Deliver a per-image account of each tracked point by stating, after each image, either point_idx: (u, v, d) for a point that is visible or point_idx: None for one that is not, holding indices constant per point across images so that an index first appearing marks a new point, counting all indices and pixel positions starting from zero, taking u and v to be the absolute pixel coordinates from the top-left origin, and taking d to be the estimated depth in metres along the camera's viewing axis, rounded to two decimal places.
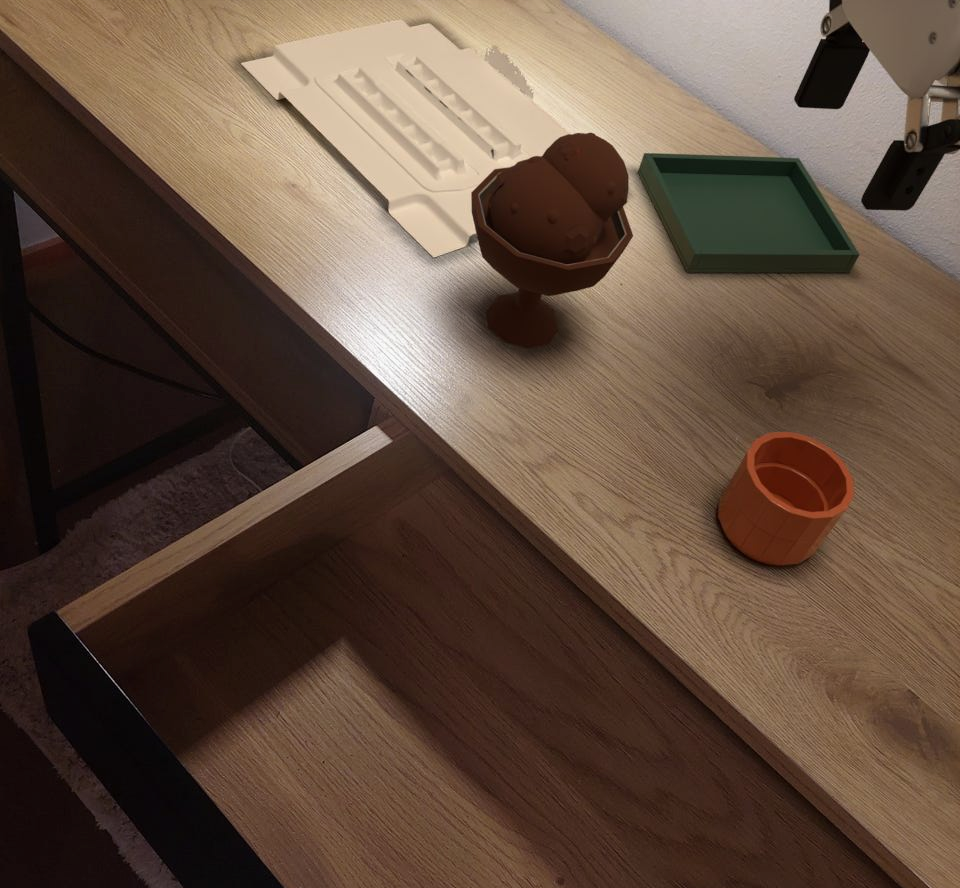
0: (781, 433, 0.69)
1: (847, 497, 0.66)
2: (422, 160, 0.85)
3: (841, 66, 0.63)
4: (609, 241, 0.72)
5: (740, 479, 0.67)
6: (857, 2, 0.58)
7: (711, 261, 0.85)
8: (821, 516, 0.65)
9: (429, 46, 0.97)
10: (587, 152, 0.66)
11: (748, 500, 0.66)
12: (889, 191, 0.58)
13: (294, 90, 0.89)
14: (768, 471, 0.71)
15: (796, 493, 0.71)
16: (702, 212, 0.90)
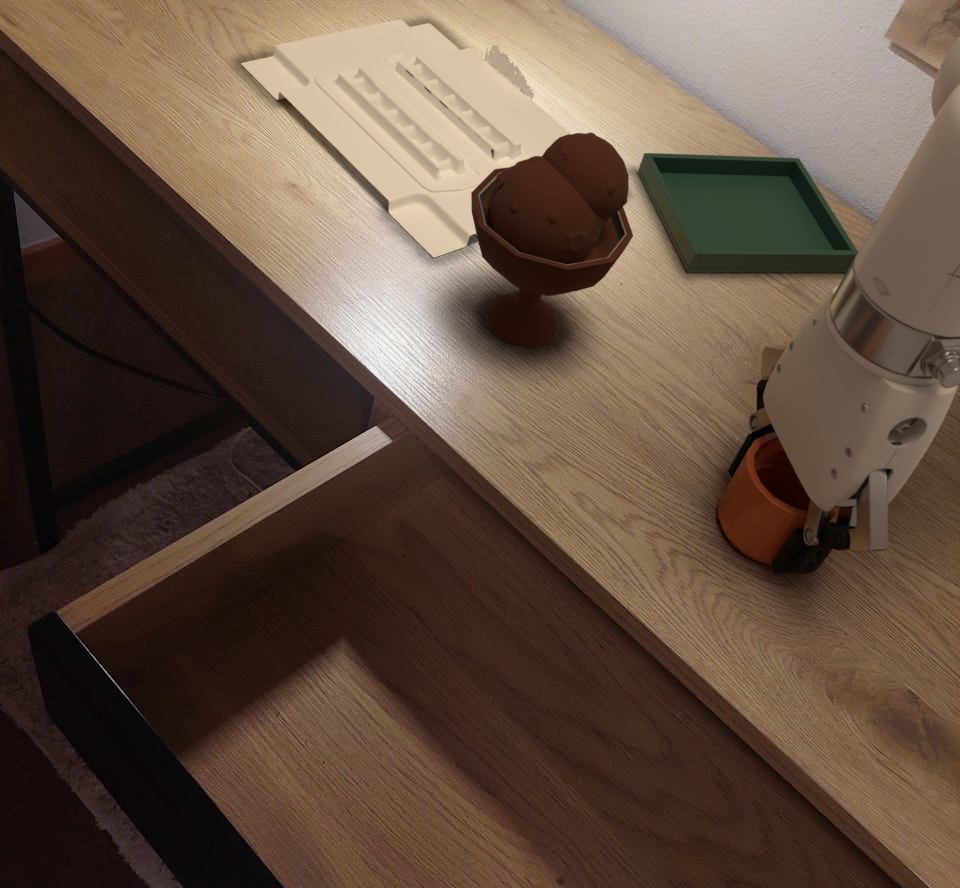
0: None
1: None
2: (422, 160, 0.85)
3: None
4: (609, 241, 0.72)
5: (740, 479, 0.67)
6: (775, 407, 0.65)
7: (711, 261, 0.85)
8: None
9: (429, 46, 0.97)
10: (587, 152, 0.66)
11: (748, 500, 0.66)
12: (793, 564, 0.67)
13: (294, 90, 0.89)
14: (768, 471, 0.71)
15: (796, 493, 0.71)
16: (702, 212, 0.90)
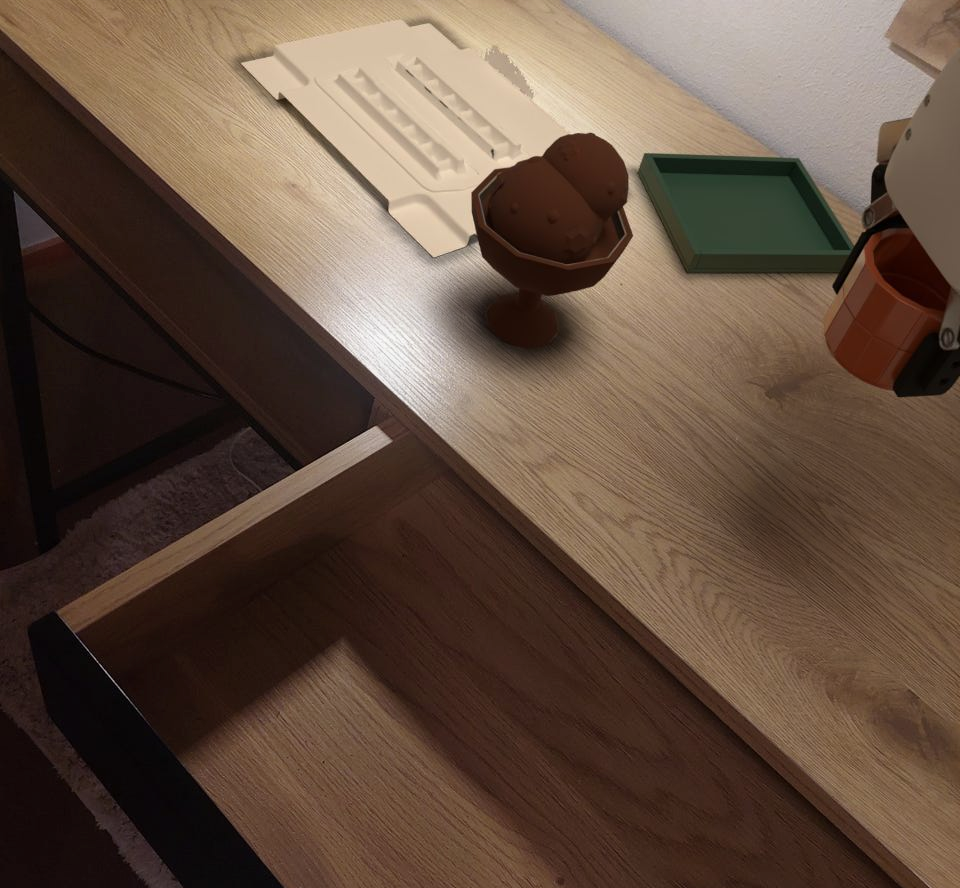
0: (902, 229, 0.57)
1: None
2: (422, 160, 0.85)
3: None
4: (609, 241, 0.72)
5: (856, 281, 0.55)
6: (902, 185, 0.53)
7: (711, 261, 0.85)
8: None
9: (429, 46, 0.97)
10: (587, 152, 0.66)
11: (868, 303, 0.55)
12: (923, 382, 0.55)
13: (294, 90, 0.89)
14: None
15: None
16: (702, 212, 0.90)
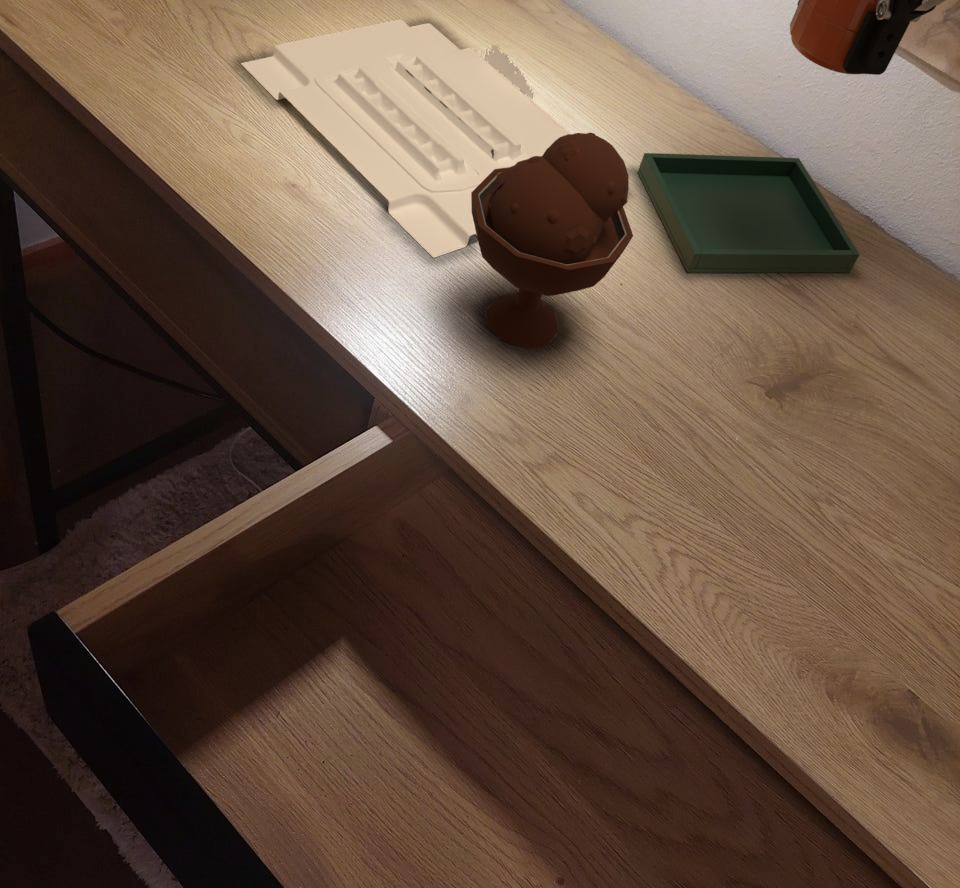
0: None
1: None
2: (422, 160, 0.85)
3: None
4: (609, 241, 0.72)
5: None
6: None
7: (711, 261, 0.85)
8: None
9: (429, 46, 0.97)
10: (587, 152, 0.66)
11: None
12: (865, 56, 0.72)
13: (294, 90, 0.89)
14: None
15: None
16: (702, 212, 0.90)
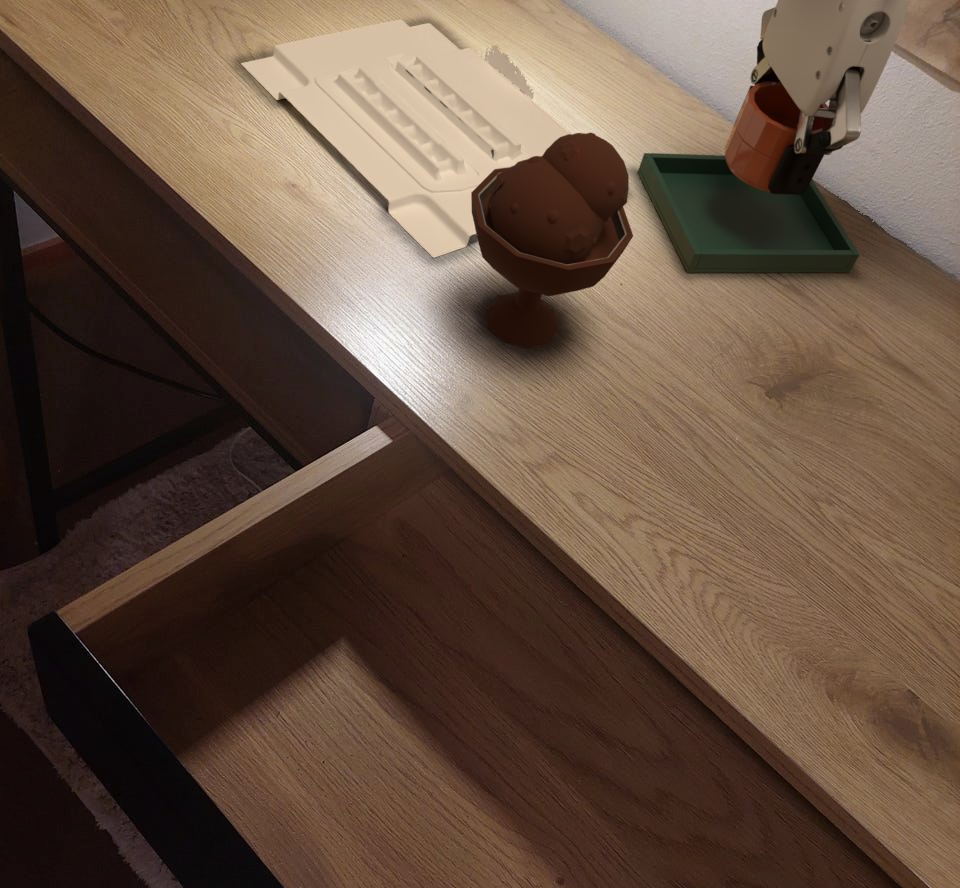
0: (776, 82, 0.85)
1: None
2: (422, 160, 0.85)
3: None
4: (609, 241, 0.72)
5: (743, 113, 0.83)
6: (772, 47, 0.81)
7: (711, 261, 0.85)
8: None
9: (429, 46, 0.97)
10: (587, 152, 0.66)
11: (749, 126, 0.82)
12: (786, 180, 0.83)
13: (294, 90, 0.89)
14: None
15: None
16: (702, 212, 0.90)
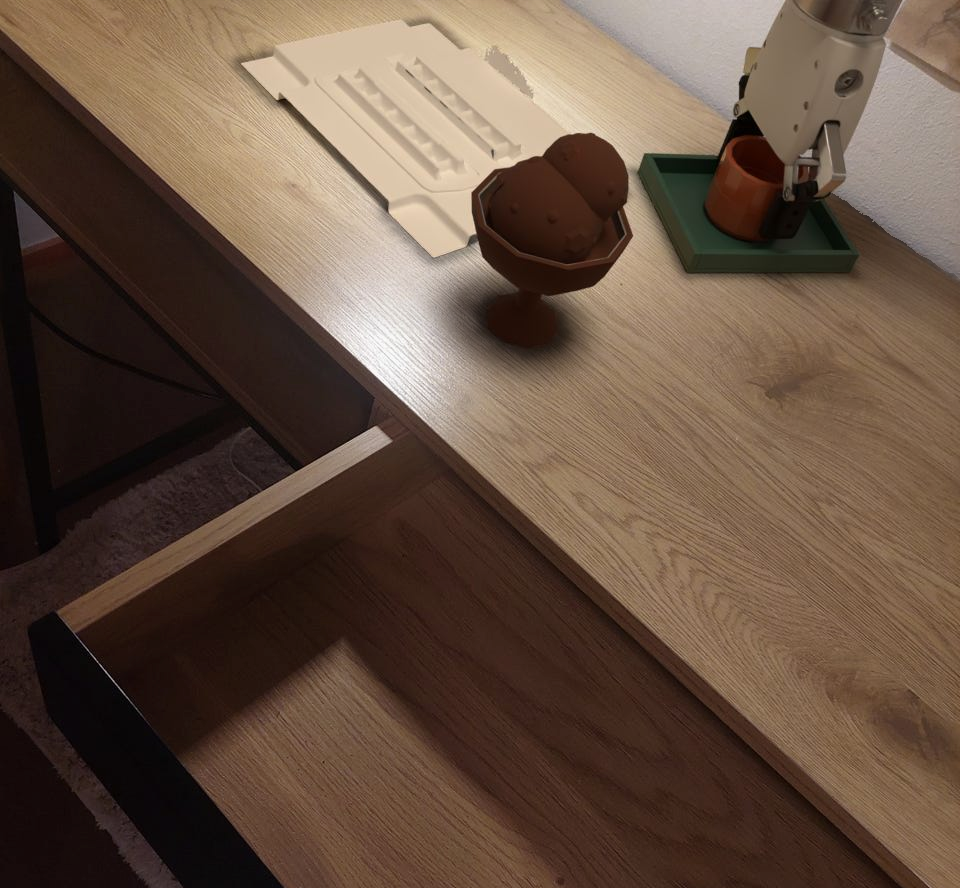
0: (753, 136, 0.88)
1: (803, 177, 0.86)
2: (422, 160, 0.85)
3: None
4: (609, 241, 0.72)
5: (721, 166, 0.87)
6: (753, 98, 0.85)
7: (711, 261, 0.85)
8: (782, 186, 0.85)
9: (429, 46, 0.97)
10: (587, 152, 0.66)
11: (727, 179, 0.86)
12: (776, 226, 0.85)
13: (294, 90, 0.89)
14: None
15: None
16: (702, 212, 0.90)
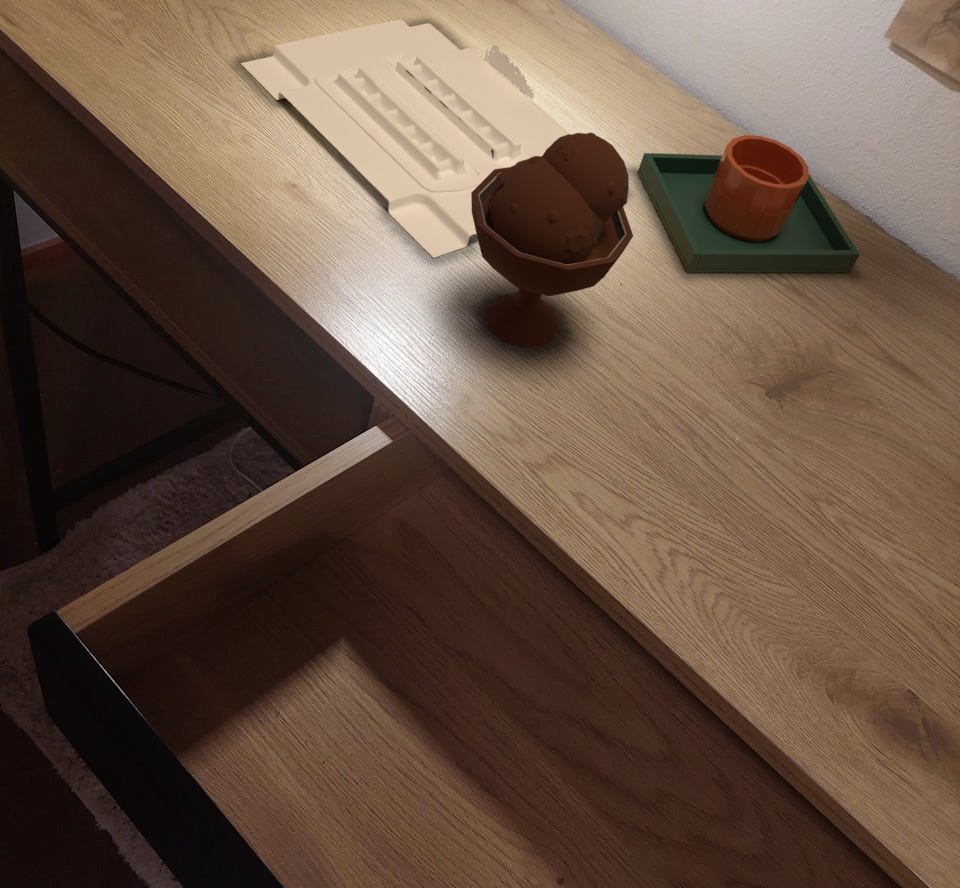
0: (753, 136, 0.88)
1: (803, 177, 0.86)
2: (422, 160, 0.85)
3: None
4: (609, 241, 0.72)
5: (721, 166, 0.87)
6: None
7: (711, 261, 0.85)
8: (782, 186, 0.85)
9: (429, 46, 0.97)
10: (587, 152, 0.66)
11: (727, 179, 0.86)
12: None
13: (294, 90, 0.89)
14: None
15: None
16: (702, 212, 0.90)
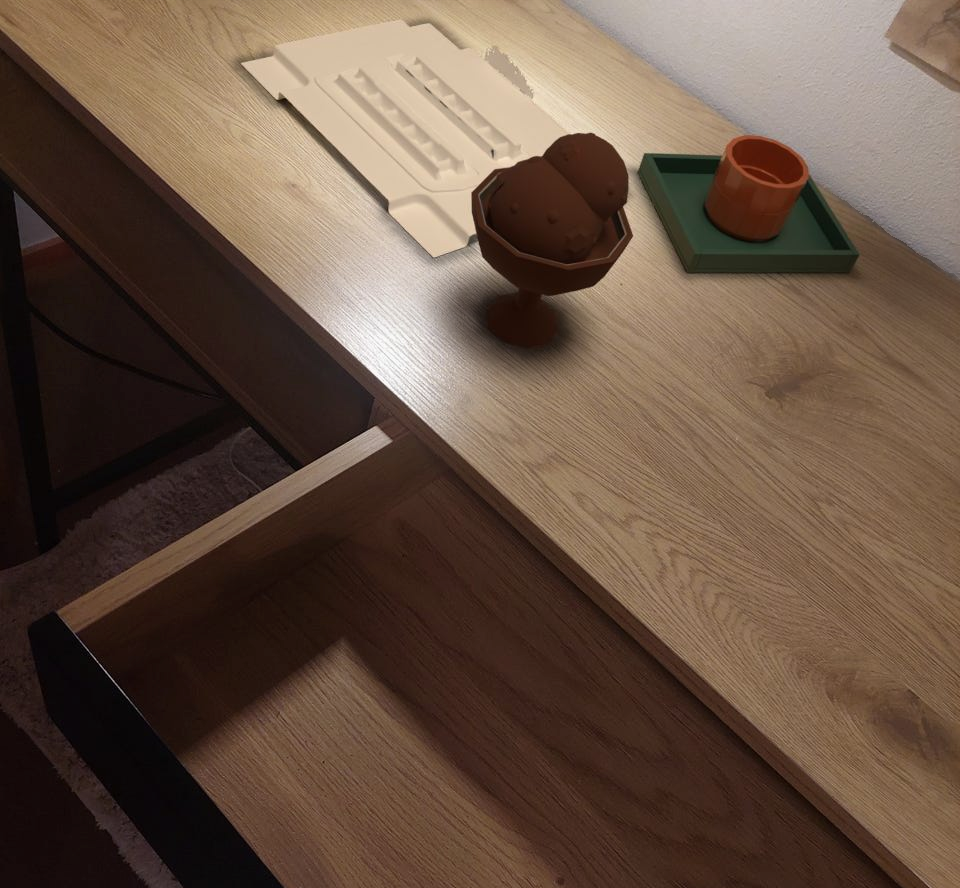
0: (753, 136, 0.88)
1: (803, 177, 0.86)
2: (422, 160, 0.85)
3: None
4: (609, 241, 0.72)
5: (721, 166, 0.87)
6: None
7: (711, 261, 0.85)
8: (782, 186, 0.85)
9: (429, 46, 0.97)
10: (587, 152, 0.66)
11: (727, 179, 0.86)
12: None
13: (294, 90, 0.89)
14: None
15: None
16: (702, 212, 0.90)
